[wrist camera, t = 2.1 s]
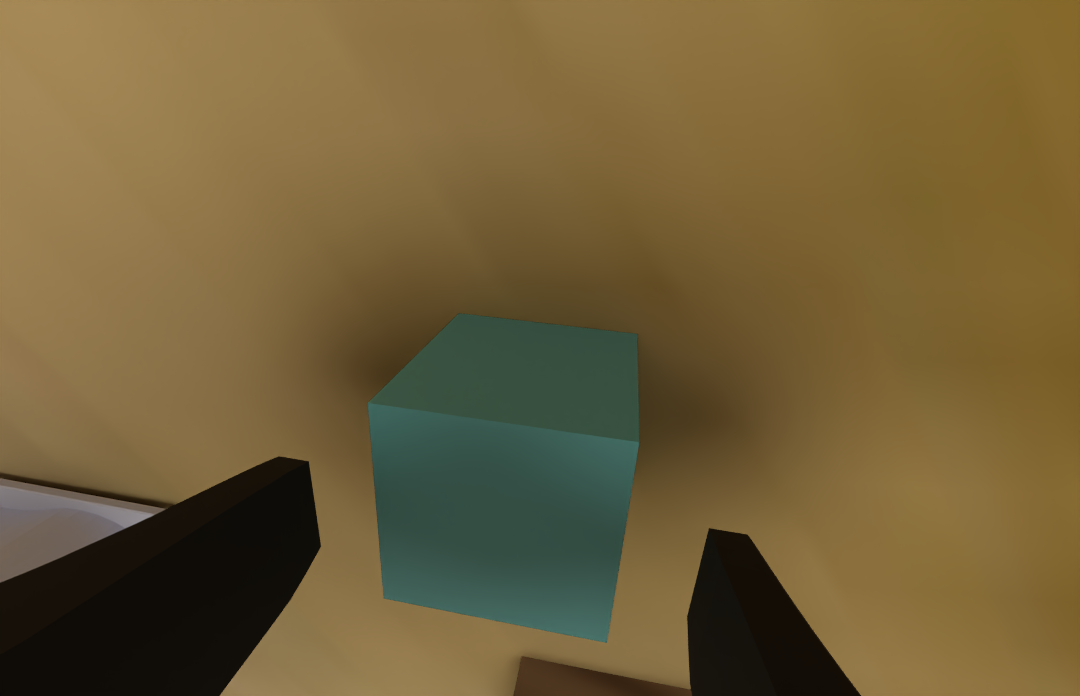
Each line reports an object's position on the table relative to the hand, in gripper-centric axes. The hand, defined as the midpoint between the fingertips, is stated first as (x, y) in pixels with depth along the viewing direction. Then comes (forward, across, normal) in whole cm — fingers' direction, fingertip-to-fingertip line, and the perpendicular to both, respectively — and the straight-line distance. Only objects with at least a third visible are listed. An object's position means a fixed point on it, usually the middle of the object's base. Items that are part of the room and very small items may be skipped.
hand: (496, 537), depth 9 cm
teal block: (+5, 0, 0) cm, 5 cm away
